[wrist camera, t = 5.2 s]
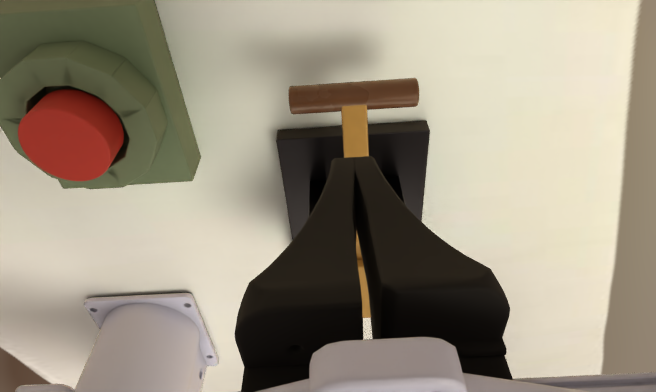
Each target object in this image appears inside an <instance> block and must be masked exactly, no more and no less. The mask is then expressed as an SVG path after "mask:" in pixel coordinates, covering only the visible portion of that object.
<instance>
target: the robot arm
mask: <svg viewBox="0 0 656 392" xmlns="http://www.w3.org/2000/svg"><path fill="white" fill-rule="evenodd" d="M356 232H357V234H358V240H359V245H360V250H361V255H362V260H363V265H364V270H365V275H366V280H367V287H368V293H369V304H370V314H371V326H372V337H373V339H370V340H363V314H362V296H361V285H360V278H359V270H358V263H357V254H356ZM84 306H85V308H86V309H87V311H88V312H89V314H90V315H91V317H92V318H93V320H94V321H95V323H96V324H97V325H98V327H99V328H100V332H99V334H98V336H97V339H96V341H95V343H94V346H93V348H92V350H91V353H90V355H89V357H88V360H87V362H86V364H85V367H84V369H83V371H82V374H81V376H80V378H79V381H78V383H77V385H76V388H75V390H74V389H73V388H71V387H70V386H67V385H64V384H42V385H22V386H19V387H18V388H17V389H16V391H15V392H201V391H202V386H203V381H204V377H205V372H206V367H207V366H216V365H217V364H218V362H219V358H218V356H217V354H216V351H215V349H214V346H213V344H212V341H211V339H210V336H209V334H208V332H207V329H206V327H205V324H204V322H203V319H202V317H201V314H200V312H199V309H198V307H197V305H196V302H195V300H194V297H193V296H192V295H191V294H189V293H173V294H154V295H135V296H115V297H96V298H87V299H86V300H85V302H84ZM509 312H510V307H509V304H508V301H507V298H506V296H505V293H504V291H503V289H502V288H501V286H500V284H499V282H498V281H497V279H496V277H495V276H494V274H493V272H492V271H491V269H490V268H488V267H486V266H484V265H482V264H480V263H479V262H477V261H475V260H473V259H471V258H469V257H467V256H466V255H464V254H462V253H461V252H459V251H458V250H456V249H455V248H453V247H451V246H450V245H449V244H447V243H446V242H445V241H443V240H442V239H441V238H439V237H438V236H437V235H435V234H434V233H433V232H432V231H431V230H430V229H428V228H427V227H426V226H425V225H424V224H423V223H422V222H421V221H420V220H419V219H418V218H417V217H416V216H415V215H414V214H413V213H412V212H411V211H410V210H409V209H408V207H407V206H406V205H405V204H404V203H403V202H402V200H401V199H400V198H399V197H398V195H397V194H396V193H395V191H394V190H393V189H392V187H391V186H390V185H389V183H388V182H387V180H386V179H385V177H384V175H383V174H382V172H381V170H380V169H379V167H378V165H377V163H376V161H375V159H374V158H373V157H372V156H363V157H346V158H334V159H333V160H332V161H331V168H330V172H329V176H328V178H327V181H326V184H325V186H324V189H323V191H322V193H321V196H320V198H319V200H318V202H317V204H316V206H315V207H314V209H313V211H312V213H311V215H310V216H309V218H308V220H307V221H306V223H305V224H304V226H303V227H302V229H301V230H300V232H299V233H298V234H297V236H296V237H295V238H294V240H293V241H292V242H291V243H290V245H289V246H288V247H287V248H286V249H285V250H284V251H283V252H282V253H281V254H280V256H279V257H278V258H277V259H276V260H275V261H274V262H273V263H272V264H271V265H270V266H269V267H268V268H266V269H265V270H264V271H263V272H262V273H261V274H259V275H258V276H257V277H256V278H255V279H253V280H252V281H251V282H250V283H249V285H248V287H247V289H246V292H245V294H244V297H243V299H242V302H241V306H240V309H239V312H238V317H237V323H236V329H235V340H236V344H237V346H238V349H239V352H240V355H241V358H242V361H243V364H244V374H243V382H242V389H241V391H239V392H656V372H650V373H628V374H608V375H607V374H606V375H585V376H563V377H542V378H520V379H512V376H511V373H510V370H509V367H508V364H507V362H506V359H505V356H504V355H506V347H505V344H504V341H503V339H502V337H503V333H504V330H505V327H506V324H507V321H508V318H509Z"/></svg>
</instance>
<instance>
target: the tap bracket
mask: <svg viewBox="0 0 656 392" xmlns="http://www.w3.org/2000/svg"><path fill="white" fill-rule="evenodd" d="M429 134H430V130H429V127H428V124H427V121H416V122H400V123H384V124H368V147H369V156H372V157H373V158H374V159H375V161H376V163H377V165H378V167H379V169H380V170H381V172H382V174H383V175H384V177H385V179H386V180H387V182H388V183H389V185H390V186H391V187H392V189H393V190H394V191H395V193H396V194H397V195H398V197H399V198H400V199H401V200H402V202H403V203H404V204H405V205H406V206H407V207H408V209H409V210H410V211H411V212H412V213H413V214H414V215H415V216H416V217H417V218H418V219H419V220H420V221H421V220H422V209H423V198H424V188H425V177H426V166H427V156H428V145H429ZM276 142H277V148H278V154H279V160H280V166H281V172H282V178H283V185H284V191H285V197H286V203H287V209H288V215H289V222H290V228H291V234H292V240H294V238H295V237H296V236H297V234H298V233H299V232H300V230H301V229H302V227H303V226H304V224H305V223H306V221H307V220H308V218H309V216H310V215H311V213H312V211H313V209H314V207H315V206H316V204H317V202H318V200H319V198H320V196H321V193H322V191H323V189H324V186H325V184H326V181H327V178H328V176H329V172H330V168H331V161H332V160H333V159H334V158H344V152H343V134H342V126H336V127H320V128H304V129H288V130H278V131H277V139H276Z"/></svg>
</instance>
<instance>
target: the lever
mask: <svg viewBox="0 0 656 392" xmlns="http://www.w3.org/2000/svg"><path fill="white" fill-rule="evenodd" d="M418 102H419V85H418V81H417V79H416V78H408V79H393V80H378V81H362V82H347V83H332V84H317V85H301V86H290V87H289V106H290V111H291V114H306V113H321V112H337V111H341V115H342V134H343V152H344V158H346V157H363V156H369V147H368V120H367V110H369V109H384V108H400V107H415V106H417V105H418ZM356 254H357V263H358V270H359V278H360V285H361V296H362V314H363V318H370V317H371V314H370V304H369V293H368V287H367V280H366V275H365V270H364V265H363V260H362V255H361V250H360V245H359V240H358V234H357V232H356Z"/></svg>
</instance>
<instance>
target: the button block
mask: <svg viewBox="0 0 656 392" xmlns="http://www.w3.org/2000/svg"><path fill="white" fill-rule="evenodd" d="M0 78H1V79H0V126H1V128H2V129H3V131H4V133H5V134H6V136H7V138H8V139H9V141H10V142H11V144H12V146H13V147H14V149H15V150H16V151H17V152H18V153H19V154H20V155H22V156H23V157H24V158H26V159H27V160H28V161H30V162H31V163H32V164H34V163H33V162H32V161H31V160H30V159H29V157H28V156H27V155H26V154H25V152H24V151H23V149H22V147H21V145H20V142H19V139H18V127H19V124H20V121H21V120H22V118H23V117H24V116H25V115H26V114H27V113H28V112H29V111H30V110H31V109H32V108H33V107H34V106H35V105H36V104H37V103H38V102H39V101H40V100H41V99H42V98H43V97H44V96H45V95H47V94H48V93H50V92H52V91H56V90H61V89H74V90H79V91H83V92H86V93H89V94H91V95H93V96H95V97H97V98H99V99H100V100H102V101H103V102H104V103H106V104H107V105H108V106H109V107H110V108H111V109H112V110H113V111H114V112H115V114H116V115H117V116H118V118H119V120H120V122H121V124H122V127H123V132H124V140H123V144H122V146H121V148H120V150H119V151H118V153H117V155H116V156H115V158H114V160H113V161H112V163H111V165H110V166H109V168H108V170H107V171H106V172H105V173H104V174H103V175H101V176H99V177H98V178H95V179H93V180H89V181H70V180H65V179H62V178H59V177H56V176H54V175H51V174H49V173H47V172H46V171H44V170H42V169H41V168H40V167H38V166H37V165H36V164H34V165H35V166H36V167H38V168H39V169H40V170H42V171H43V172H44V173H46V174H47V175H49V176H51V177H52V178H56V179H58V180H59V182H60V184H61V186H62V187H63V188H64V189H66V188H83V187H84V188H87V189H88V188H89V189H100V188H117V187H124V186H126V185H134V184H151V183H168V182H184V181H193V179H194V176H195V173H196V170H197V167H198V164H199V161H200V159H201V156H200V153H199V149H198V146H197V143H196V139H195V136H194V133H193V129H192V126H191V122H190V119H189V116H188V112H187V109H186V106H185V102H184V99H183V96H182V92H181V89H180V86H179V82H178V79H177V75H176V72H175V69H174V65H173V62H172V59H171V55H170V52H169V49H168V45H167V42H166V38H165V35H164V32H163V28H162V25H161V22H160V18H159V15H158V12H157V8H156V5H155V1H154V0H0Z"/></svg>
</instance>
